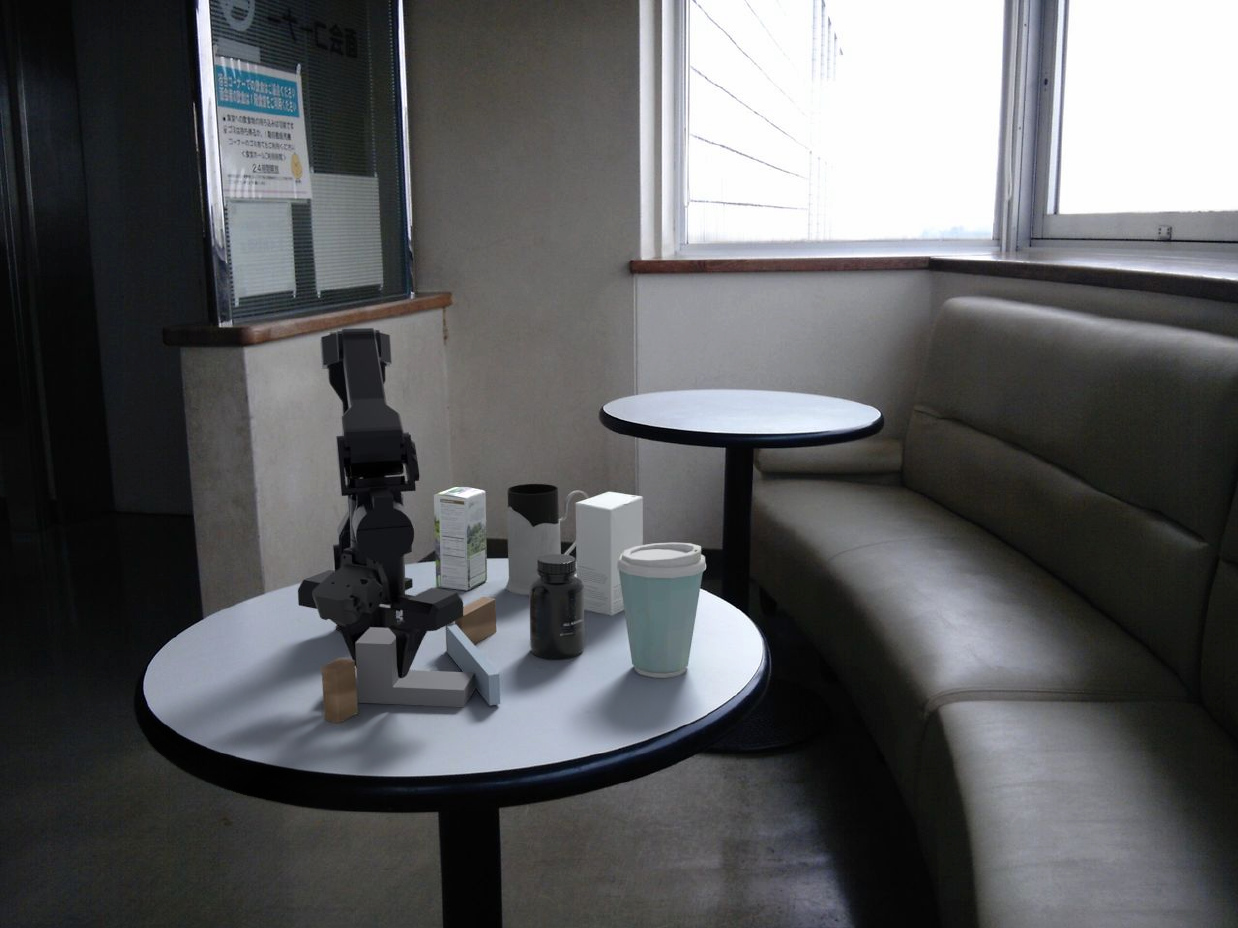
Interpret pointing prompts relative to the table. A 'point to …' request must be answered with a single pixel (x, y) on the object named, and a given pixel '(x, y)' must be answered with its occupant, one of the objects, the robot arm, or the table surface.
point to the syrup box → (460, 538)
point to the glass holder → (532, 531)
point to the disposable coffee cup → (661, 604)
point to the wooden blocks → (342, 671)
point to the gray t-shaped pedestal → (416, 688)
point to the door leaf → (473, 663)
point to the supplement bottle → (556, 608)
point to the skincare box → (605, 546)
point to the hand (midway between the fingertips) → (381, 672)
